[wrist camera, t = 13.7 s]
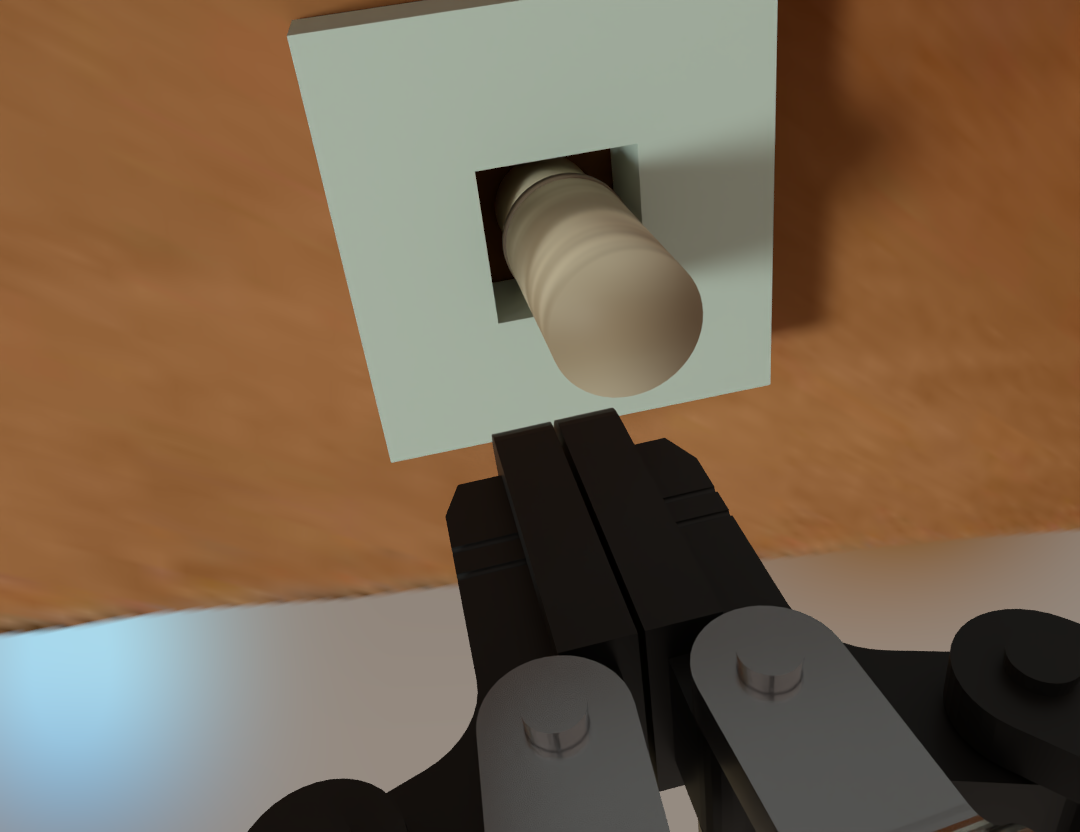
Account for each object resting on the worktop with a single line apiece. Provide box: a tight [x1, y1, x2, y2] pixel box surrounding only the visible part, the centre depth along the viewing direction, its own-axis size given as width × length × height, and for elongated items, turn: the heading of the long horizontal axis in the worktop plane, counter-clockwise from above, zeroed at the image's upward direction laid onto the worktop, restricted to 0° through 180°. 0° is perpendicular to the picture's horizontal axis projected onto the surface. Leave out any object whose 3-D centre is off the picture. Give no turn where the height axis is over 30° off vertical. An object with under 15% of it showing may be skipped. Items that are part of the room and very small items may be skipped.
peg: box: [495, 157, 703, 398], centre depth 31 cm, size 5×5×12 cm
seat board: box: [287, 0, 778, 463], centre depth 35 cm, size 16×16×4 cm
